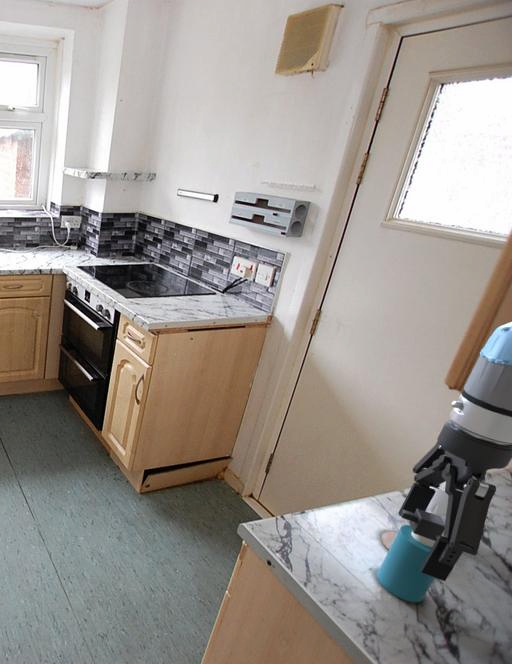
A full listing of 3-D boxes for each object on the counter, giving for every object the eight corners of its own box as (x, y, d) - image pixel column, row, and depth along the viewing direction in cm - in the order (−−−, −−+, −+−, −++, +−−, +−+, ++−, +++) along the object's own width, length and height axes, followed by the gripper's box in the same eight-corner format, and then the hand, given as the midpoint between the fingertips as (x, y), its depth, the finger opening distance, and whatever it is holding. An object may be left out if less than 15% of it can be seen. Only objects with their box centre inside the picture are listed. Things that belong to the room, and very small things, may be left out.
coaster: (436, 546, 85) (436, 545, 85) (452, 581, 77) (453, 581, 77) (377, 525, 89) (377, 524, 89) (387, 557, 81) (387, 556, 81)
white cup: (406, 504, 95) (426, 465, 92) (457, 527, 90) (480, 486, 87) (402, 523, 90) (422, 481, 86) (455, 548, 85) (480, 505, 81)
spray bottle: (417, 581, 77) (453, 515, 72) (427, 609, 72) (467, 540, 67) (368, 562, 80) (400, 497, 75) (374, 588, 75) (409, 520, 70)
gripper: (424, 389, 77) (375, 489, 84) (481, 466, 56) (410, 591, 64) (482, 403, 74) (426, 507, 81) (566, 491, 53) (480, 619, 61)
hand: (419, 544), depth 73 cm, fingers open, 13 cm apart
